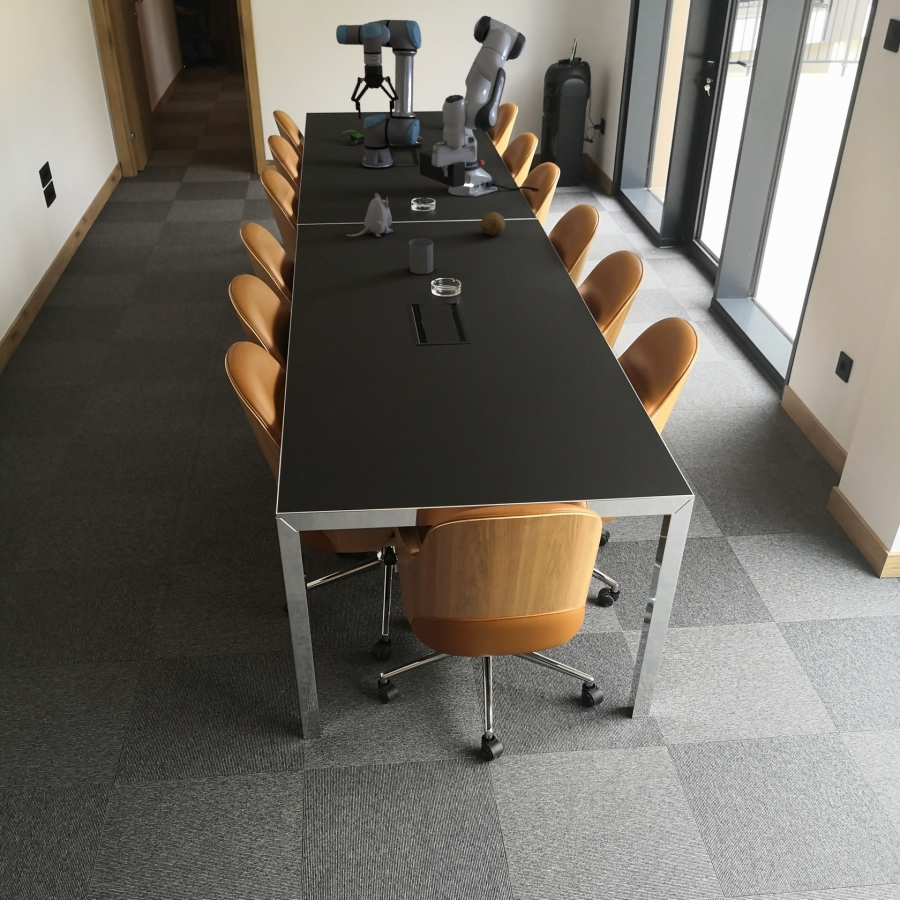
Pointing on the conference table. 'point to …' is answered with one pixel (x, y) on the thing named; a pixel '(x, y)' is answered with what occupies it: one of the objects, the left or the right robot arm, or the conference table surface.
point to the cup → (421, 256)
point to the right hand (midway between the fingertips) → (454, 174)
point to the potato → (492, 223)
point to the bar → (438, 174)
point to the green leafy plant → (354, 137)
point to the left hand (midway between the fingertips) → (375, 117)
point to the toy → (377, 217)
